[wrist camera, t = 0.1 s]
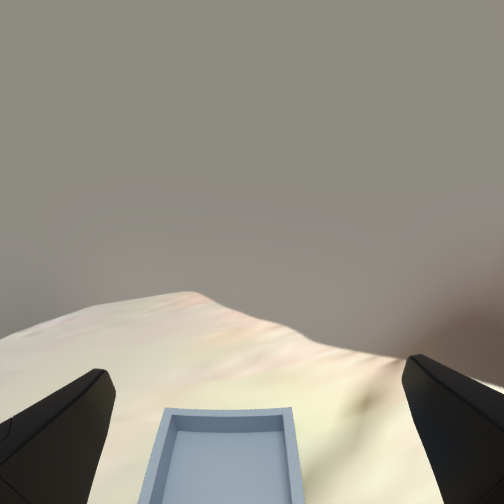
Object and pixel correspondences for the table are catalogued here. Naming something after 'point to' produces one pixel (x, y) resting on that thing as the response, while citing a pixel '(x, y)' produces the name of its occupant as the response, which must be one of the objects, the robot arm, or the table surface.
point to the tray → (224, 458)
